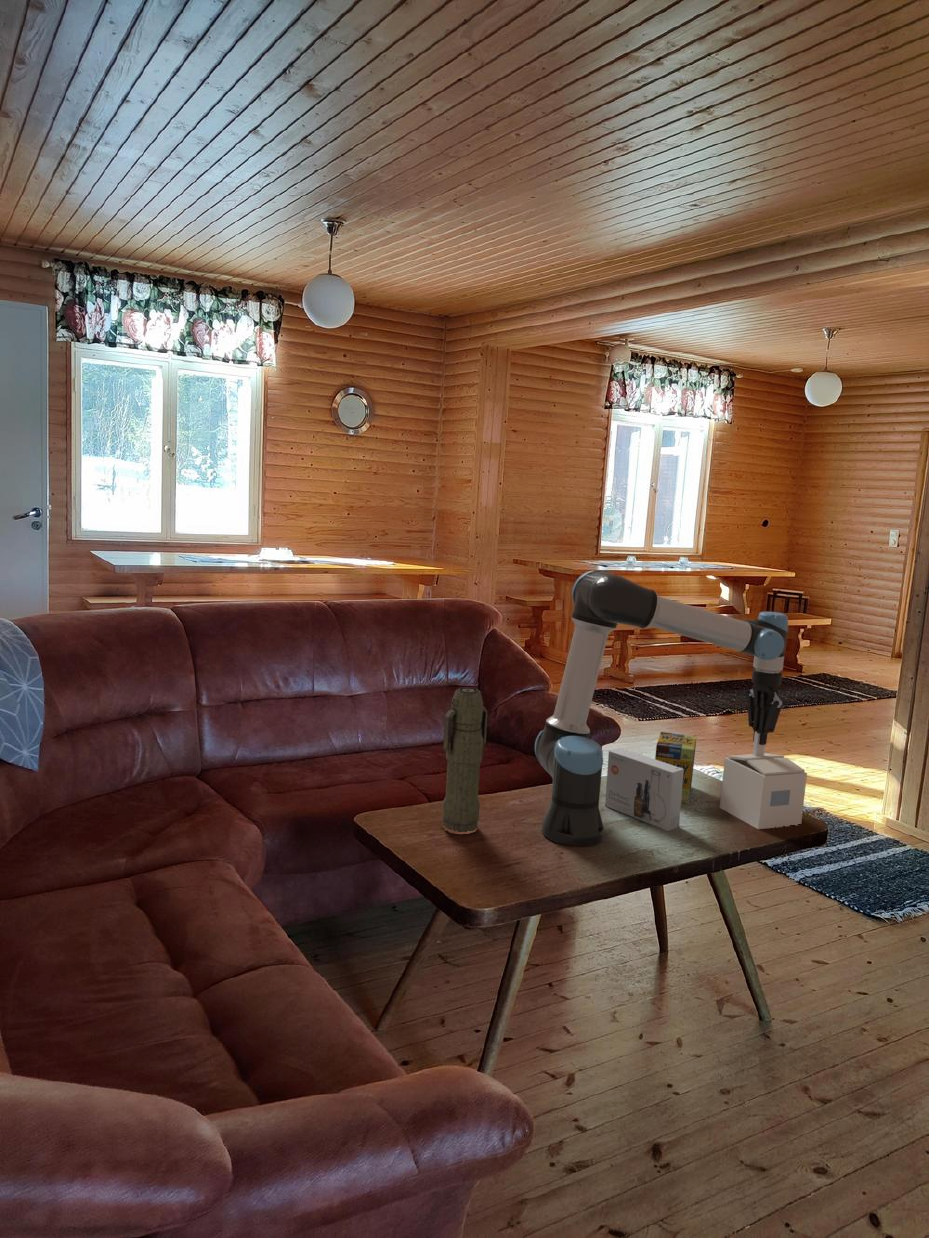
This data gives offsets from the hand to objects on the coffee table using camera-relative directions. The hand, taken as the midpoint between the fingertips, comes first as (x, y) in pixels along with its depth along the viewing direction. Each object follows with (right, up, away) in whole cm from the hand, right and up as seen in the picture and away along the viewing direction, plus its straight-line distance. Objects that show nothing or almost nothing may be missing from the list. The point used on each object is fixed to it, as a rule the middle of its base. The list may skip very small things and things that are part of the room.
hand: (758, 755), depth 242 cm
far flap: (0, -1, +1) cm, 1 cm away
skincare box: (-33, -16, -6) cm, 37 cm away
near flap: (+2, -2, -6) cm, 7 cm away
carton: (0, -16, -1) cm, 16 cm away
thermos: (-81, -15, -22) cm, 85 cm away
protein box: (-20, -13, +15) cm, 28 cm away
